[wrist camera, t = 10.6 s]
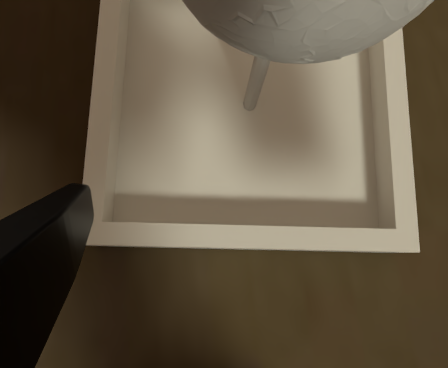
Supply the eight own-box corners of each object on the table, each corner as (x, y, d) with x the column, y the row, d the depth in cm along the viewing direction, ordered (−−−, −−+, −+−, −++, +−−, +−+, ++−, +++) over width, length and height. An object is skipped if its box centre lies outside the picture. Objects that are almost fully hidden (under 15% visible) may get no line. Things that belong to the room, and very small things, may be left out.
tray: (392, 252, 19) (420, 252, 16) (94, 246, 18) (76, 244, 16) (375, -8, 22) (396, -41, 19) (117, -19, 21) (105, -55, 19)
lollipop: (173, 49, 20) (75, -578, 5) (304, 36, 20) (572, -567, 5) (189, 179, 18) (120, -141, 4) (329, 162, 19) (772, -181, 4)
